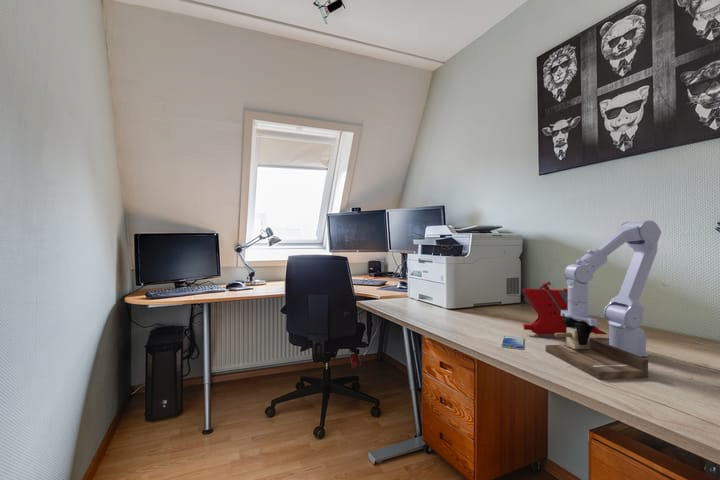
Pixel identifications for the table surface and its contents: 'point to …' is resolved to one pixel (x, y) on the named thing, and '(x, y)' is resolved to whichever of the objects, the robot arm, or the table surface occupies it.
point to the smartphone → (513, 342)
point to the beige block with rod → (573, 338)
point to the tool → (549, 311)
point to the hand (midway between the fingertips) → (577, 342)
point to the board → (602, 360)
